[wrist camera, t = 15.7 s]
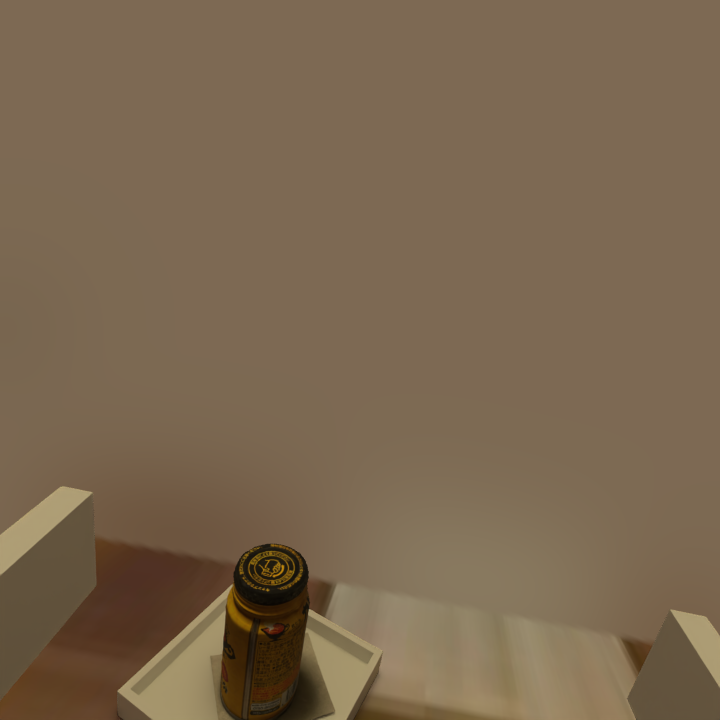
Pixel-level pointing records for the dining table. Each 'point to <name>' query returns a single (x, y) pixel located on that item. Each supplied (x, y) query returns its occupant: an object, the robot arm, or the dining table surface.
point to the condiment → (269, 642)
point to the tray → (205, 638)
